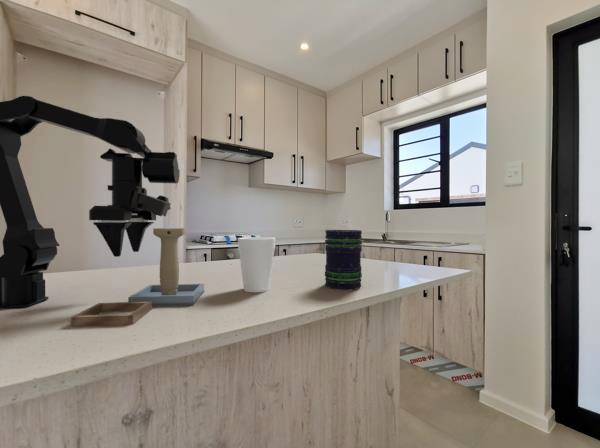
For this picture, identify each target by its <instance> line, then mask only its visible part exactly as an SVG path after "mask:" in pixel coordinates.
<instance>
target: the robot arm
mask: <svg viewBox="0 0 600 448" xmlns="http://www.w3.org/2000/svg"><path fill="white" fill-rule="evenodd" d="M41 123H46V124H49V125H53V126H56V127H60V128H63V129H66V130H70V131H73V132H76V133H80V134H83V135H87V136H89V137H93V138H96V139H99V140H101V141H103V142H105V143H106V144H108V145H111V146H113V147H114V148H116V149H119V150H121V151H123V152H117V151H115V150H114V149H112V148H108V150H107V151H106V152H104V153H102V154H101V155H100V157H99V158H100V159H102V160H104V161H106V162H108V163H109V162H111V185H107V191H111V204H107V205H93V207H91V208H90V209H89V210H88V220H89V221H95V222H93V226H95V227H96V228H97V230H98V231H99V233H100V234H101V236H102V238H103V239H104V241H105V242H106V244H107V247H109V250H110V251H111V254H112V255H113V257H116V258H118V257H119V258H120V257H121V255H122V250H123V245H124V238H125V231H126V234H127V237H128V241H129V243H130V247H131V249H132V252H133V253H138V252H139V251H140V249H141V246H142V243H143V239H144V235H145V232H146V230H147V228H149V227H150V226H152V225H153V224H154V223H155V222H154V221H157V216H159V217H163V216H164V217H166V216H167V214H168V211H169V210H171V202H170V201H169V197H167V196H164V195H159V196H157V197H155V196H150V195H149V194H147V193H148V191H147V189H146V187H143V178H145V179H147V181H148V182H149V183H151V184H178V183H179V181H180V174H181V173H180V170H181V169H179V163H178V159H177V158H178V156H177V154H176V152H174V151H165V152H157V151H155V152H154V151H152V150H151V149H150V148H149V147H148V146H147V144H146V138H145V135H144V133H143V131H141V130H140V129H138V128H137V127H136V126H135V125H134V124H133V123H131V122H129V121H127V120H125V119H119V118H118V119H117V118H112V117H110V118H109V117H101V118H100V117H94V116H90V115H87V114H85V113H81V112H78V111H75V110H71V109H68V108H65V107H63V106H59V105H55V104H52V103H48V102H45V101H42V100H39V99H36V98H35V97H33V96H30V95H21V96H18V97H16V98H12V99H11V100H4V101H0V209H1V212H2V215H3V218H4V222H5V225H6V228H5V232H4V236H3V238H2V251H3V254H2V255H1V256H0V309H1V308H6V309H7V308H27V307H30V306H33V305H36V304H39V303H40V302H44V301H46V300H48V299H49V296H46V280H45V278H44V271H47V270H48V269H49V265H50V263H51V262H52V261H53V260H55V257H56V256H57V255H58V248H57V247H59V246H60V244H59V242H58V241H57V239H56V233H55V230H54V228H52V227H44V226H42V224H41V223H40V222H39V221H38V218H37V215H36V211H35V207H34V205H33V202H32V199H31V196H30V193H29V189H28V187H27V186H28V185H27V184H26V180H25V176H24V173H23V169H22V167H21V164H20V161H19V157H18V155H19V152H20V150H21V146H22V139H21V137H23V136H25V135H28V134H30V133H31V132H32V131H33V130H34V129H35V128H36V127H37V126H38V125H39V124H41ZM133 154H137V155H138V156H140V157H133Z"/></svg>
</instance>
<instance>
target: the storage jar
mask: <svg viewBox="0 0 600 448" xmlns="http://www.w3.org/2000/svg"><path fill="white" fill-rule="evenodd" d="M362 234H363V233H362V230H361V229H360V230H358V229H325V239H324V244H325V246H324V247H325V248H324V249H325V259H326V260H325V261H326V263H325V265H324V267H325V268H324V270H325V271H324V277H325V278H324V279H325V283H324V286H325V287H326V288H327V289H328V288H329V289H331V290H337V289H338V290H339V291H350V290H349V289H354V290H357V289H356V288H359V289H360V287H361V288H362V275H363V273H362V266H361V265H362V264H361V261H362V260H361V259H362V257H361V253H362V250H363V248H362V245H363V240H362V239H363V238H362V237H363V236H362Z"/></svg>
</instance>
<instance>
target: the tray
mask: <svg viewBox="0 0 600 448" xmlns="http://www.w3.org/2000/svg"><path fill="white" fill-rule="evenodd" d="M161 292H162V289H161V286H160V284H148V285H147V286H145V287H143V288H141V289H140V290H138V291H137V292H134V293H133V294H132V295H129V296H128V298H127V302H152V307H178V306H180V307H181V306H182V307H183V306H184V307H186V306H194V305H195V304H196V303H197V301H199V299H200V298H201V296H202V295H203V294H204V293H205V283H178V288H177V295H162V293H161Z"/></svg>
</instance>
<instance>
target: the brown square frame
mask: <svg viewBox="0 0 600 448" xmlns="http://www.w3.org/2000/svg"><path fill="white" fill-rule="evenodd" d="M152 309H153V306H152V302H128V301H123V302H120V301H119V302H117V301H116V302H98V303H96V304H94V305H92V306H90V307H88V308H86V309H85V310H83V311H81V312H79V313H76V314H75V315H73V316H71V317H70V327H89V326H90V327H93V326H96V327H97V326H116V325H117V326H119V325H121V326H122V325H125V326H126V325H134V324H136V323H137V322H138V321H139V320H140V319H142V318H143V317H144V316H145V315H146V314H147V313H149V312H150V311H152ZM102 312H103V313H106V312H107V313H109V312H131V313H127V314H126V313H122V314H119V313H118V314H100V313H102Z"/></svg>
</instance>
